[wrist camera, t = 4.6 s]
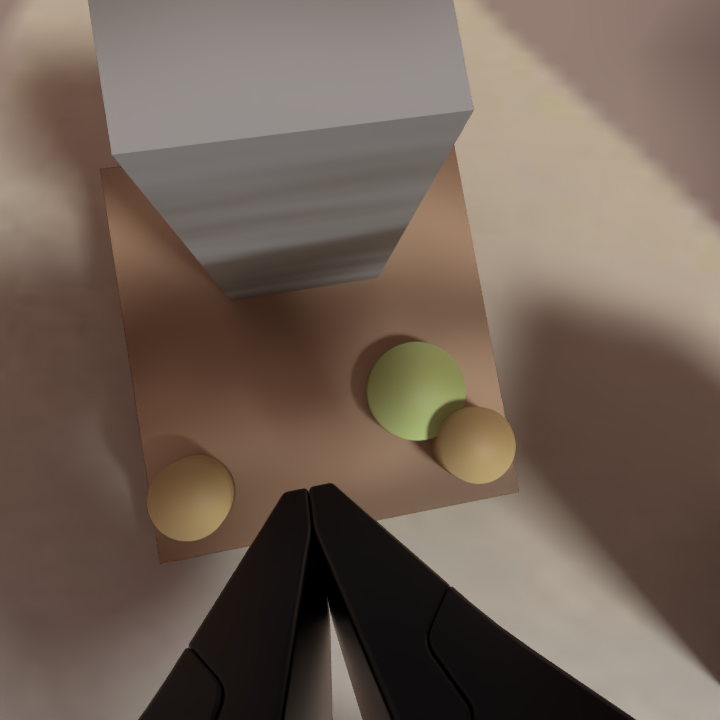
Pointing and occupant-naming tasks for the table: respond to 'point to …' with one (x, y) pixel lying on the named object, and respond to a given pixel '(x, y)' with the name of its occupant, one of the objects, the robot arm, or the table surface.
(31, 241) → the table surface
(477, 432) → the wooden base with pillar
